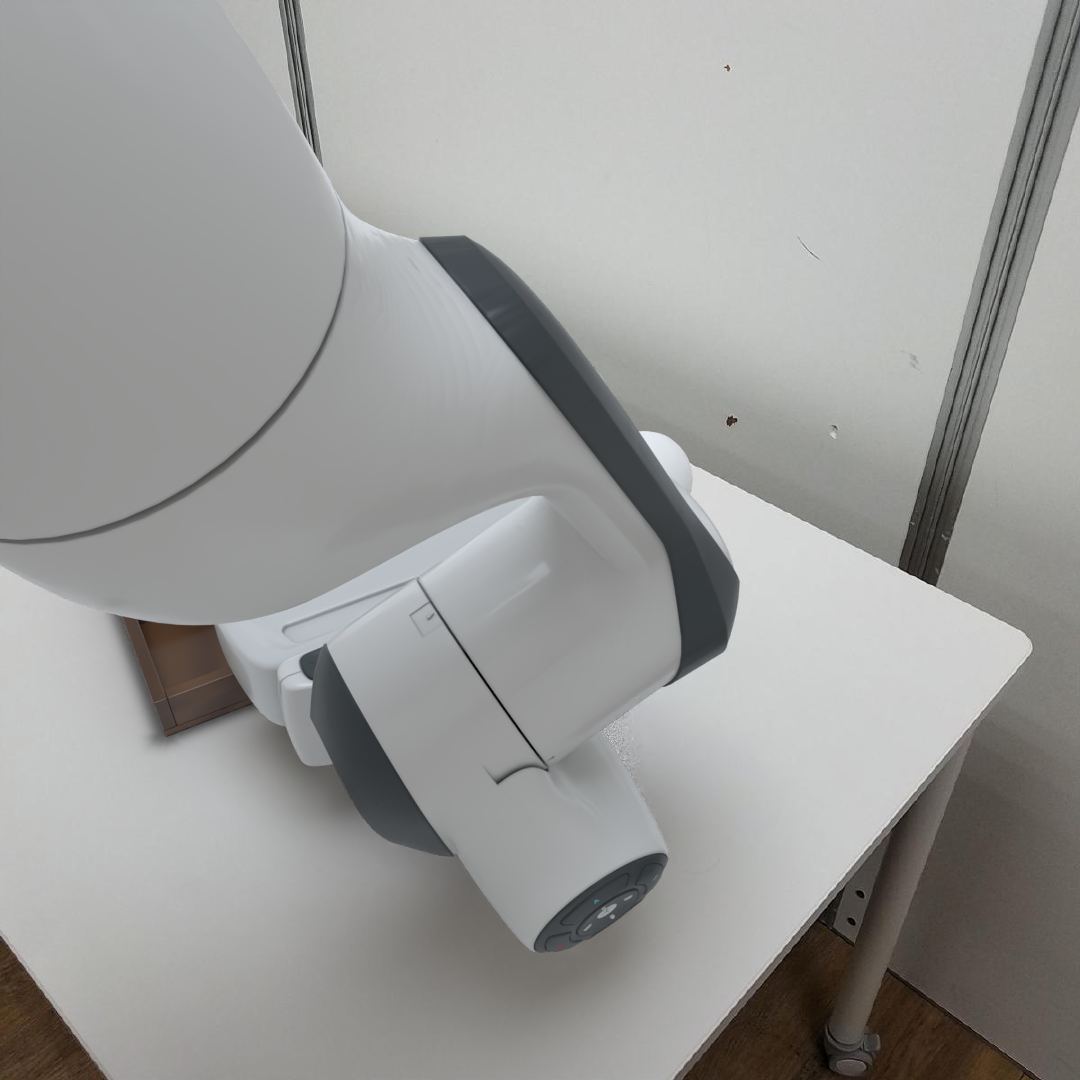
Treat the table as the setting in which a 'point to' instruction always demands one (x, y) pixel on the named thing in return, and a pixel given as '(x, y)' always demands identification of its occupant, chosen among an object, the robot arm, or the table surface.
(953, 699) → the table surface
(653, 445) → the lightbulb
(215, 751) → the table surface
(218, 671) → the grid
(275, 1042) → the table surface
